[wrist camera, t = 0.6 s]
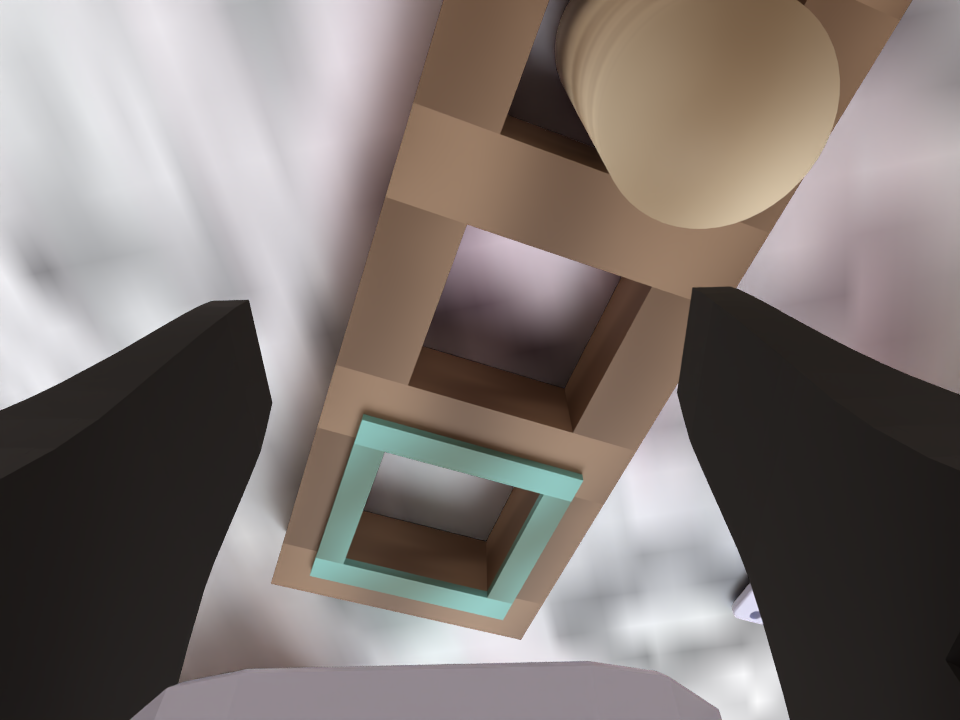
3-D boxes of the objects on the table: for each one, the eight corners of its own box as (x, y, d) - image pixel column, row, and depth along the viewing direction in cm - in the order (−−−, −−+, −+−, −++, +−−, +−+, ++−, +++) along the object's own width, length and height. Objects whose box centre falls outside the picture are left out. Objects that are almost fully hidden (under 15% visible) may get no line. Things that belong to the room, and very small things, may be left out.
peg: (734, -6, 18) (890, 40, 11) (661, 143, 20) (757, 256, 13) (592, -67, 17) (668, -58, 11) (532, 94, 19) (563, 187, 13)
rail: (906, -89, 17) (975, -90, 15) (517, 589, 30) (521, 646, 28) (525, -273, 15) (534, -308, 13) (286, 533, 28) (269, 590, 26)
